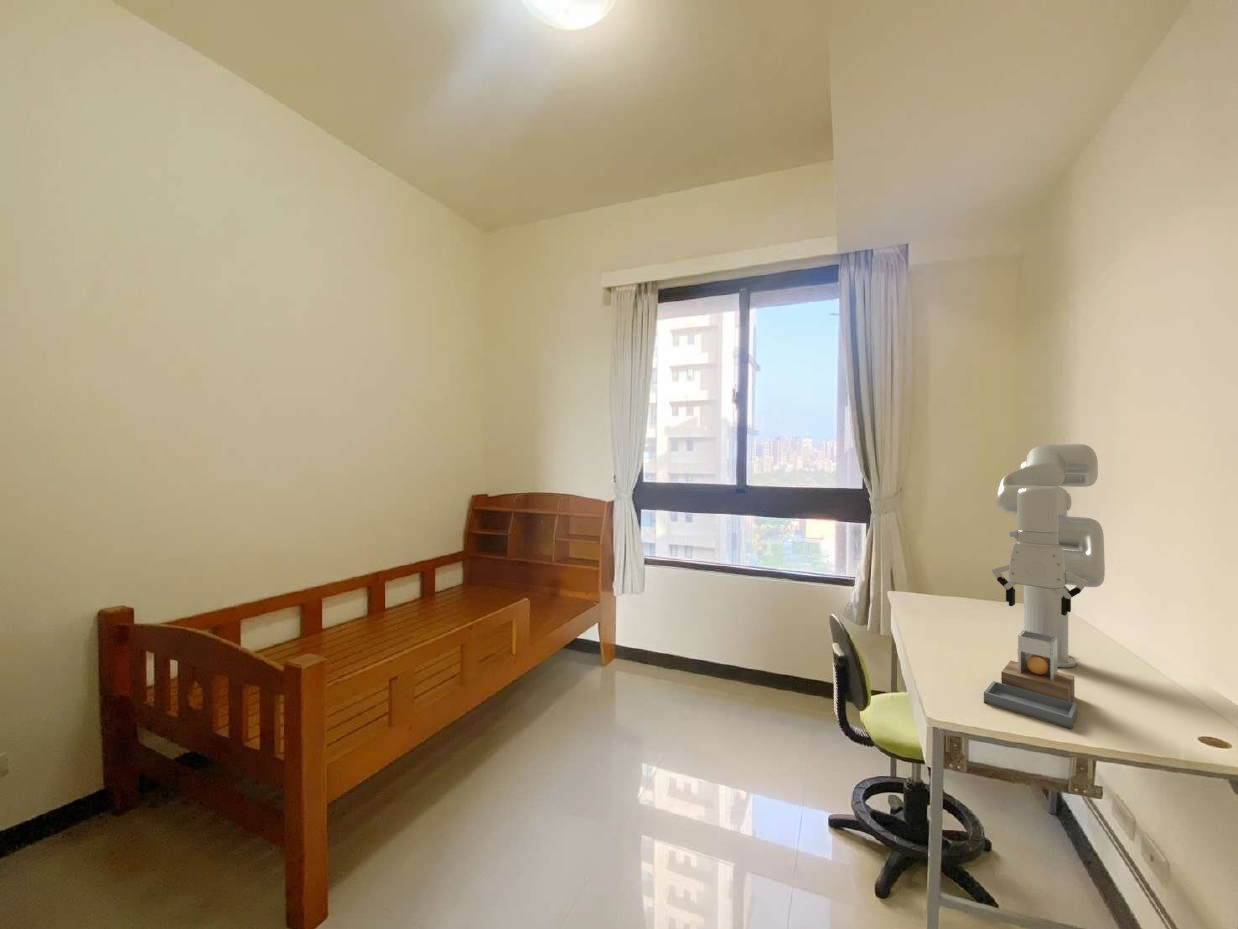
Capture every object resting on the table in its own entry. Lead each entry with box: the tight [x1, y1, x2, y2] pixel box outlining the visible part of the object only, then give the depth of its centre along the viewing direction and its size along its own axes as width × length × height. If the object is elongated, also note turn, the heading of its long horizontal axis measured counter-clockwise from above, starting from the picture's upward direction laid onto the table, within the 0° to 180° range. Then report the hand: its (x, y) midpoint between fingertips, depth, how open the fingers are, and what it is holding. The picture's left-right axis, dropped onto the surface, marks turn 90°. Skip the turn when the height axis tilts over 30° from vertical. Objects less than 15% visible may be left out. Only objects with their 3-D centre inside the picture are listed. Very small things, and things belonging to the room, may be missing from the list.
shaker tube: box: [1017, 629, 1058, 682], centre depth 116 cm, size 6×6×9 cm
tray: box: [983, 680, 1078, 730], centre depth 110 cm, size 9×15×2 cm, turn 41°
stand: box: [1000, 660, 1075, 703], centre depth 116 cm, size 10×12×5 cm
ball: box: [1027, 657, 1049, 675], centre depth 116 cm, size 4×4×4 cm
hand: (1037, 609), depth 116 cm, fingers open, 9 cm apart
